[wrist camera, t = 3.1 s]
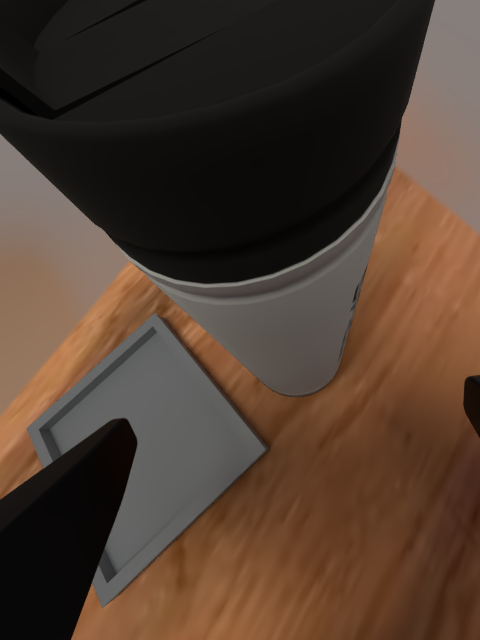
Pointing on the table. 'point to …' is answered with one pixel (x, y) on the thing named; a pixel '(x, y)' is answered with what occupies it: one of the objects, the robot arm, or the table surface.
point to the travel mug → (224, 151)
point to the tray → (153, 444)
